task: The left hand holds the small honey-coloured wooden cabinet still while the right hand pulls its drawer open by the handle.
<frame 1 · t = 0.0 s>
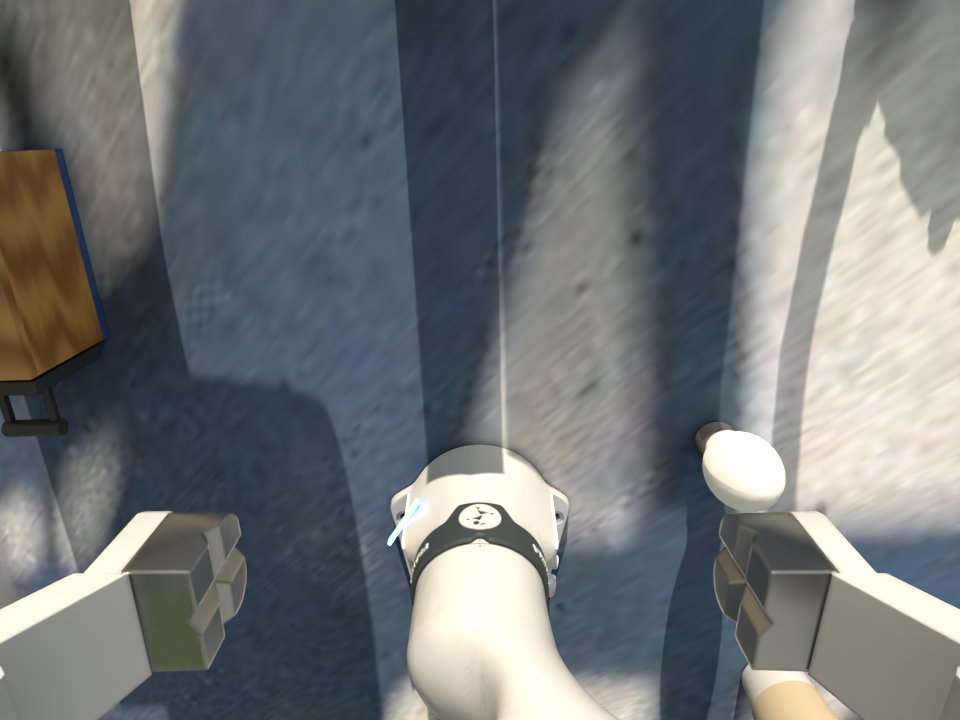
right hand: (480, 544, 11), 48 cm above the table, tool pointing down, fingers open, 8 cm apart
coffee cup: (769, 674, 74), on the table
drawer: (6, 320, 53), point 6 cm above the table, slide at 0.5 cm
cabinet: (32, 249, 57), on the table
light bulb: (715, 435, 63), on the table
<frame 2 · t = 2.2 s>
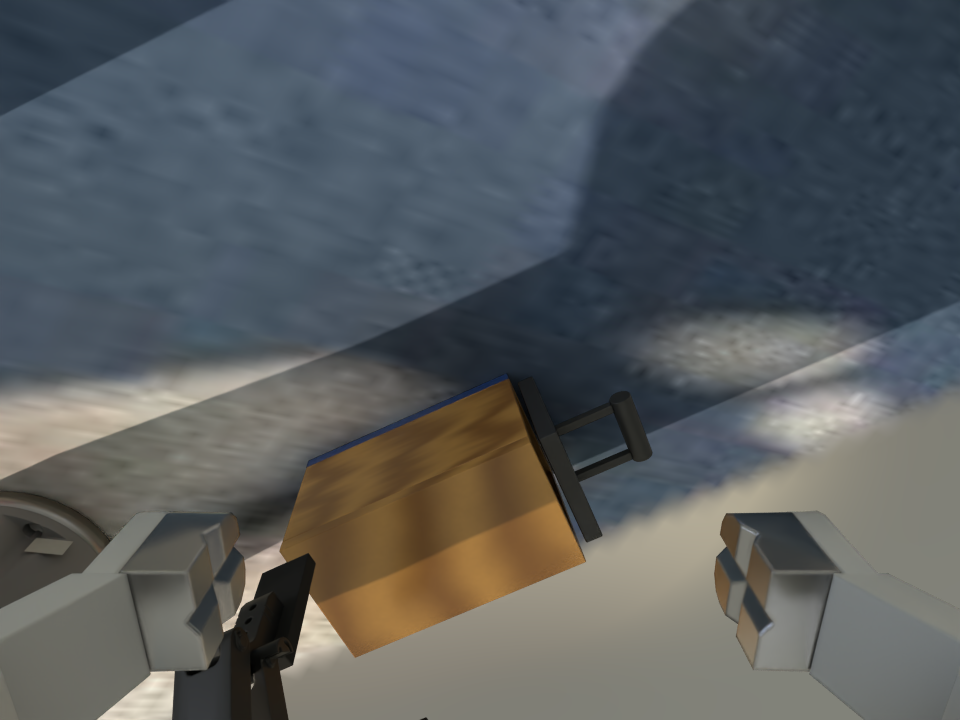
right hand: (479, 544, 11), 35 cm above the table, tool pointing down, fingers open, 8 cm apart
drawer: (500, 479, 45), point 6 cm above the table, slide at 0.5 cm
cabinet: (433, 467, 50), on the table
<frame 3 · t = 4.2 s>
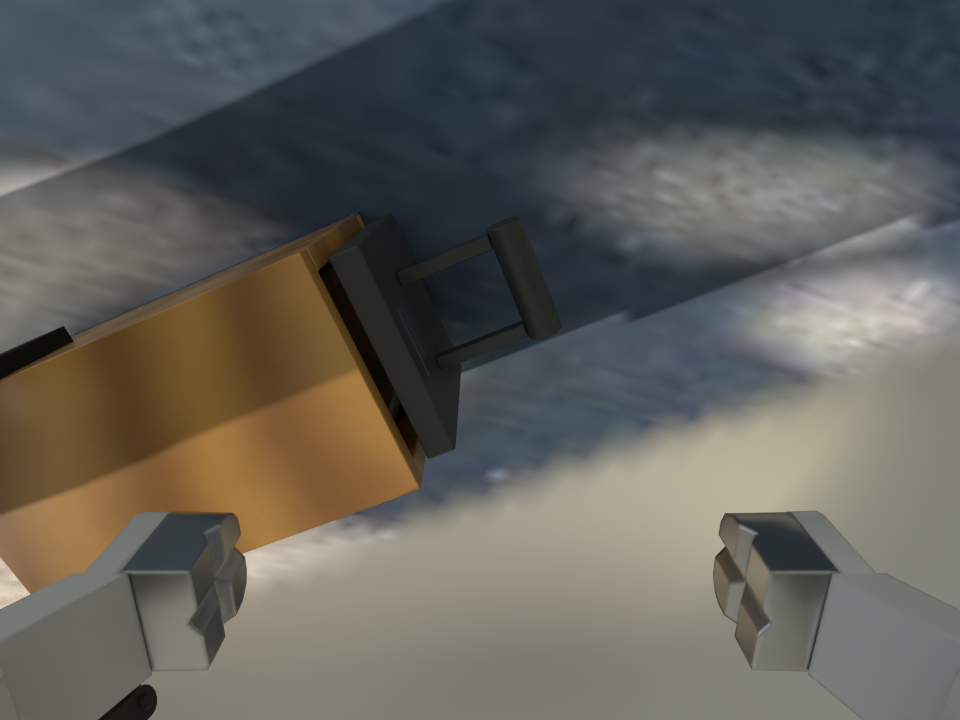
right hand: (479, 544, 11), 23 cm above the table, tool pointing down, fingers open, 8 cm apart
drawer: (317, 359, 28), point 6 cm above the table, slide at 0.5 cm
cabinet: (258, 358, 34), on the table, touching left hand
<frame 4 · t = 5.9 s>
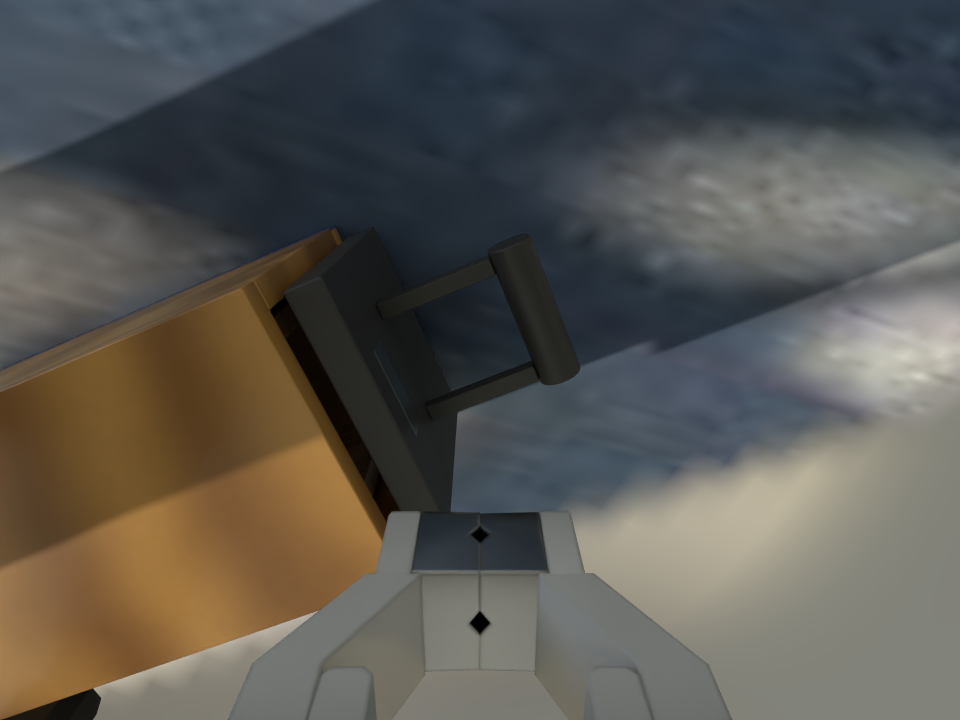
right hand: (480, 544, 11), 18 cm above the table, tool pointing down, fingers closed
drawer: (282, 407, 23), point 6 cm above the table, slide at 0.5 cm
cabinet: (219, 396, 29), on the table, touching left hand
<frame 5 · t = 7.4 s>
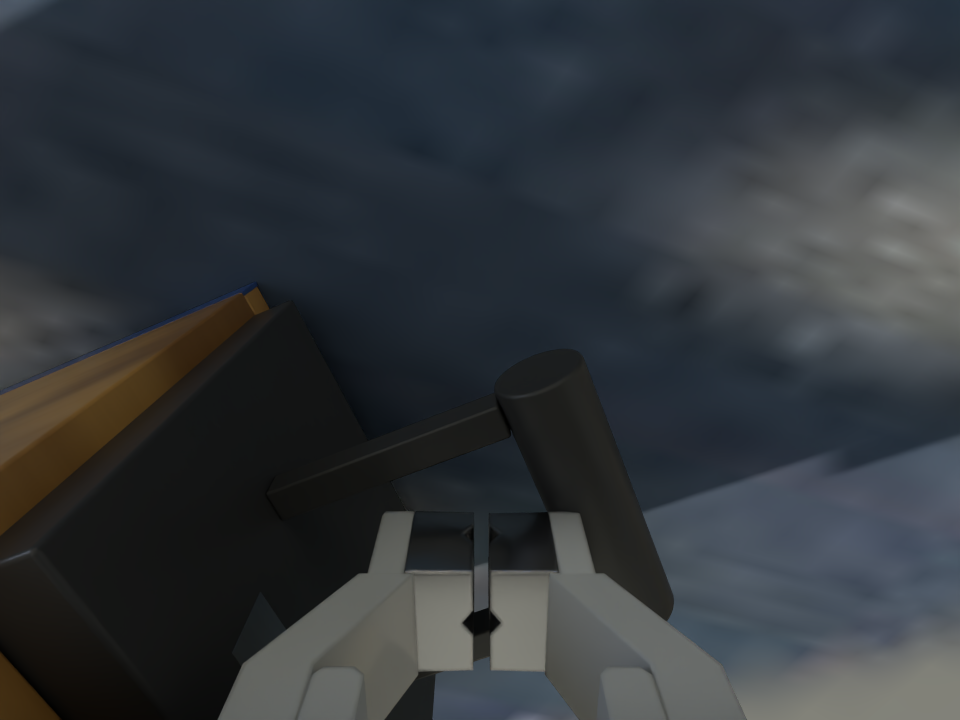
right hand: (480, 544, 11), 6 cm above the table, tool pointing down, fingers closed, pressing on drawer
drawer: (109, 651, 12), point 6 cm above the table, slide at -0.2 cm, touching right hand
cabinet: (84, 546, 18), on the table, touching left hand
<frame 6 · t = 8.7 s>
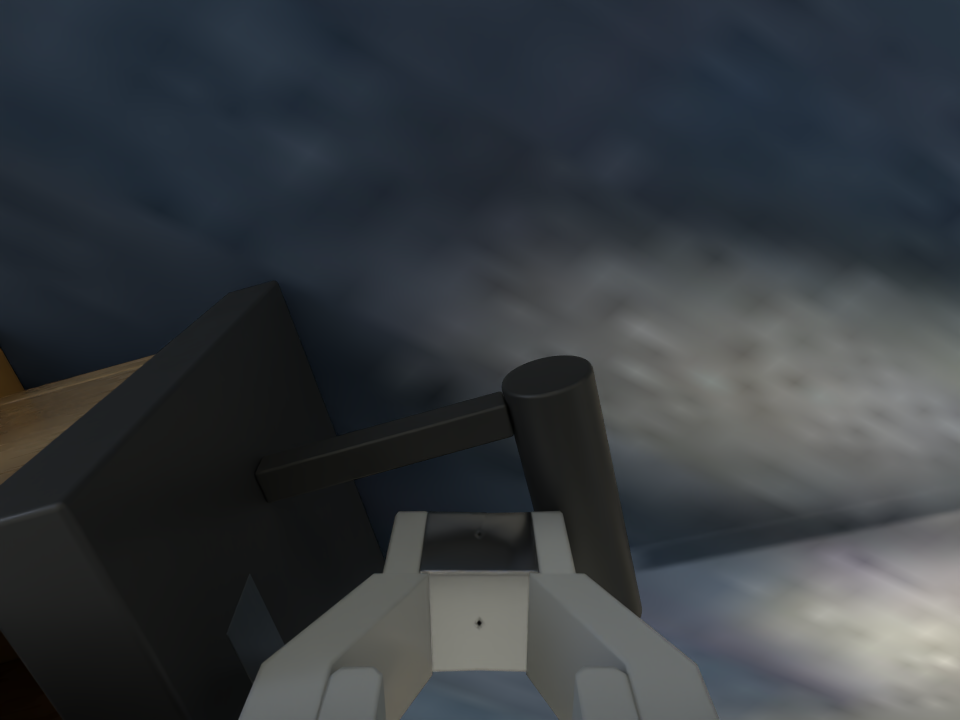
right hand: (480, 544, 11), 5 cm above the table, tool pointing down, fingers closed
drawer: (42, 635, 11), point 5 cm above the table, slide at 5.9 cm, touching right hand
when the left hand's fingers open (6 cm above the table, at t = 10.5 s): cabinet stays where it is, on the table.
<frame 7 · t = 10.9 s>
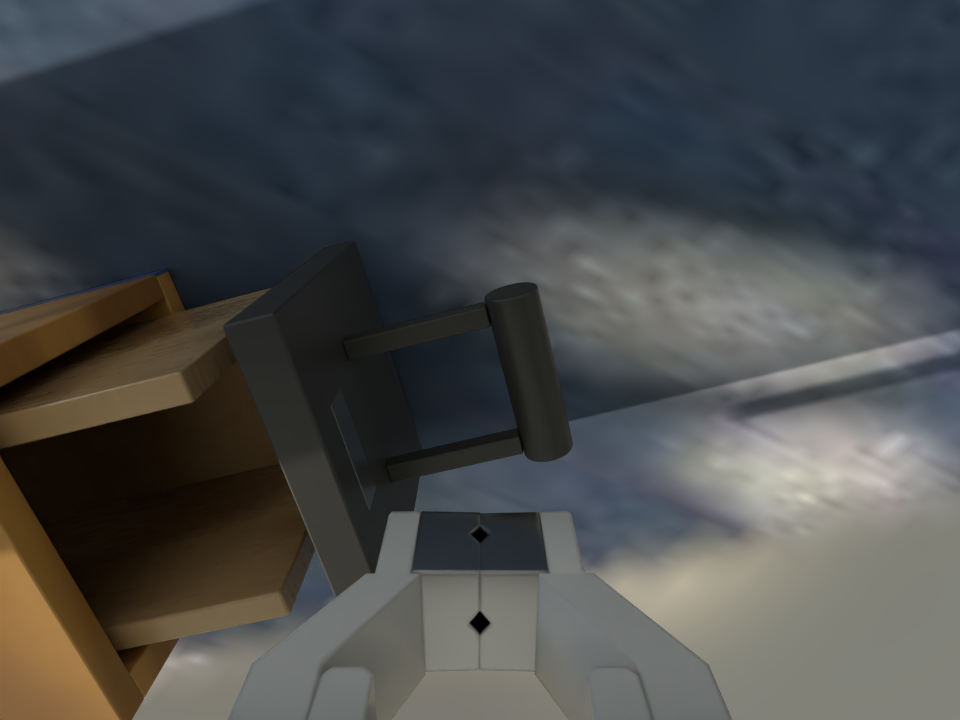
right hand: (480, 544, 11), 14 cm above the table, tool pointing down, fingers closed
drawer: (215, 442, 19), point 6 cm above the table, slide at 6.1 cm
cabinet: (25, 435, 25), on the table
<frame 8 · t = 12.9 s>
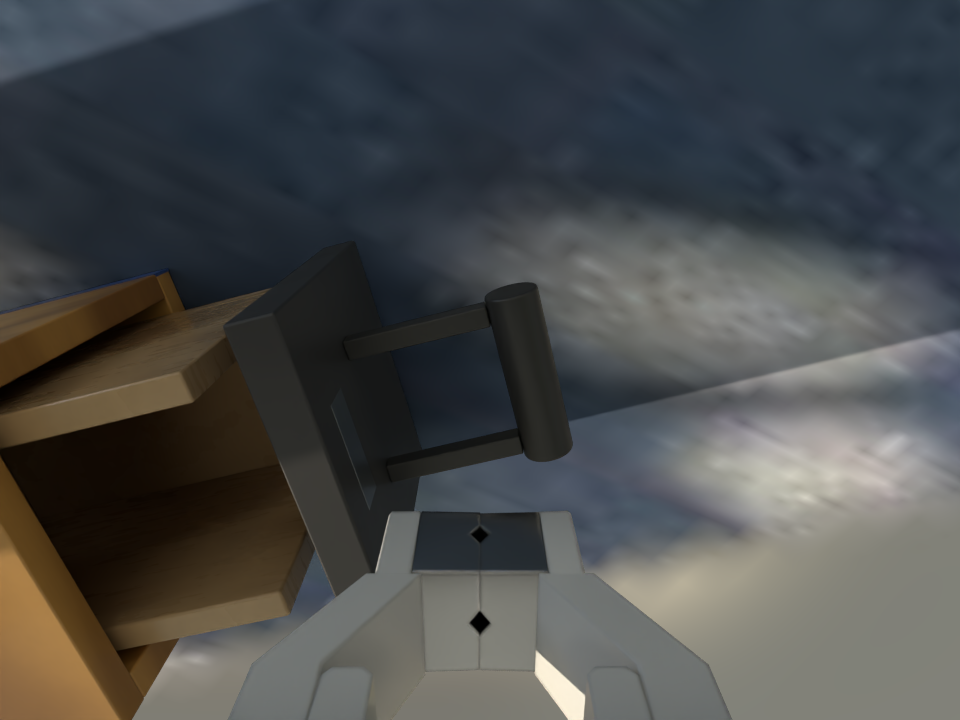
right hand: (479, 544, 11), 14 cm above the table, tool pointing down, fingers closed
drawer: (215, 442, 19), point 6 cm above the table, slide at 6.1 cm
cabinet: (25, 435, 25), on the table
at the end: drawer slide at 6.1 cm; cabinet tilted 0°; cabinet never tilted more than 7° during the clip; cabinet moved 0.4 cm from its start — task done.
